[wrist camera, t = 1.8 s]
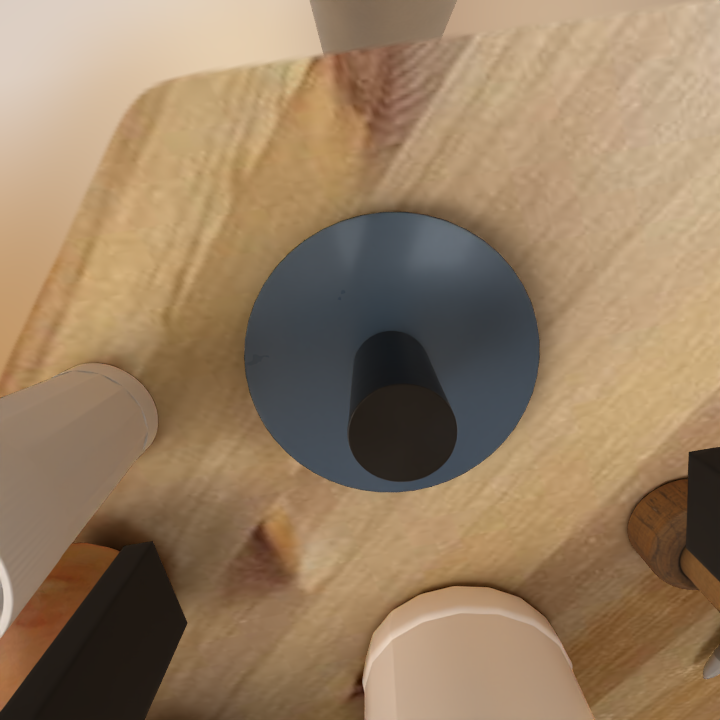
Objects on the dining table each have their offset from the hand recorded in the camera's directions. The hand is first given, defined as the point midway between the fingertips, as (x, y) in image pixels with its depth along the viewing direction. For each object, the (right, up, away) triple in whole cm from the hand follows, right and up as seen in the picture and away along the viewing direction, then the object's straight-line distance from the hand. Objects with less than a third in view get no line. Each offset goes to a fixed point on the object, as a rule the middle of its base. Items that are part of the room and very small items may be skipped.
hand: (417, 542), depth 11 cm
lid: (0, +4, +13) cm, 13 cm away
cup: (-16, +1, +15) cm, 22 cm away
